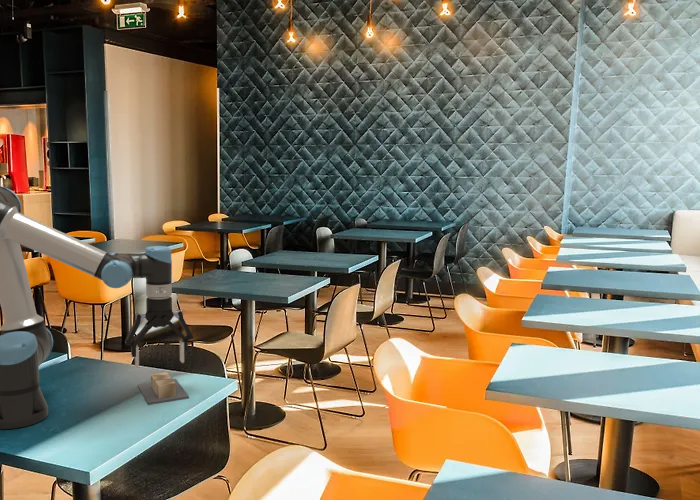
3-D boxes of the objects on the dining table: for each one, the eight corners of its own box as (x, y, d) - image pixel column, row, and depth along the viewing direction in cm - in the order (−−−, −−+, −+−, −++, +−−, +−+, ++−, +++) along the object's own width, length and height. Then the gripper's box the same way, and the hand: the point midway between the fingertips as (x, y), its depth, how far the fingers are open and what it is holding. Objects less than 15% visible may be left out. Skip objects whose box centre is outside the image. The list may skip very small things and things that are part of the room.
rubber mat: (148, 404, 188) (148, 402, 188) (137, 386, 203) (137, 384, 203) (188, 398, 193) (188, 396, 193) (175, 380, 209) (175, 378, 209)
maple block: (175, 395, 193) (167, 384, 204) (175, 383, 193) (166, 372, 203) (159, 398, 191) (151, 386, 201) (158, 385, 190) (150, 374, 201)
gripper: (117, 302, 185) (119, 372, 188) (202, 296, 197) (202, 362, 199) (114, 297, 192) (115, 365, 194) (196, 292, 203) (196, 356, 206)
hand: (159, 364), depth 197 cm, fingers open, 13 cm apart
